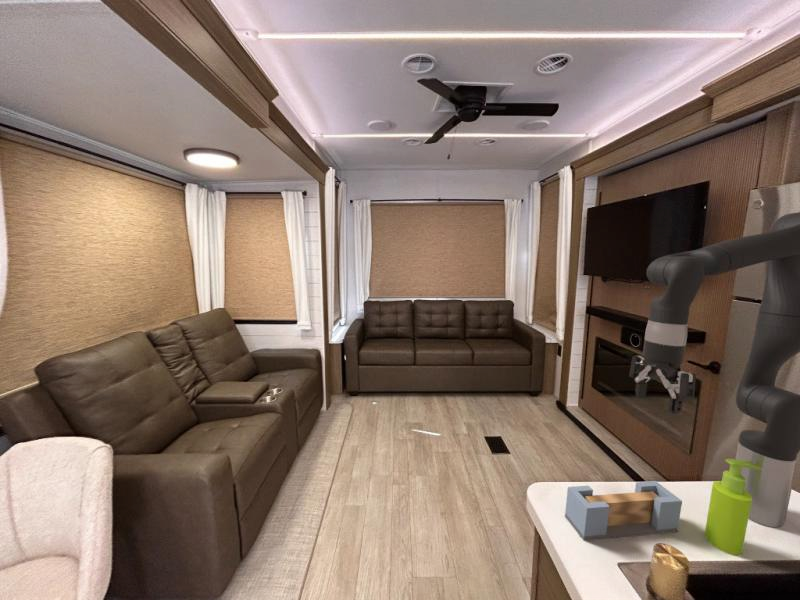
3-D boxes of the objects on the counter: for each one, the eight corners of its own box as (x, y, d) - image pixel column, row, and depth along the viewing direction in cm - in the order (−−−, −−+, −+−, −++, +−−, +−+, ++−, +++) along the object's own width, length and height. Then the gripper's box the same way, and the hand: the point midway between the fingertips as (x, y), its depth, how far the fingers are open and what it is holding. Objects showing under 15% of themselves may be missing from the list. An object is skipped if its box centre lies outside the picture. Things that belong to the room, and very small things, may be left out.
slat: (649, 513, 76) (652, 491, 75) (658, 521, 73) (661, 499, 72) (582, 518, 74) (584, 496, 73) (589, 527, 71) (592, 504, 70)
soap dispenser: (755, 558, 65) (772, 473, 63) (717, 552, 67) (732, 468, 64) (732, 535, 71) (746, 455, 69) (697, 529, 72) (710, 451, 70)
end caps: (651, 509, 78) (655, 480, 77) (677, 531, 72) (682, 500, 71) (564, 516, 75) (567, 486, 74) (583, 540, 69) (587, 508, 68)
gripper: (711, 348, 67) (700, 418, 69) (651, 333, 81) (643, 391, 83) (681, 349, 66) (671, 419, 68) (625, 333, 80) (618, 392, 82)
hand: (656, 404), depth 75 cm, fingers open, 8 cm apart
